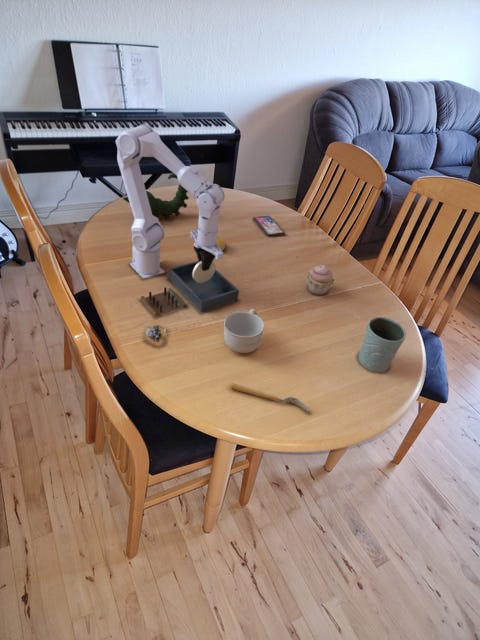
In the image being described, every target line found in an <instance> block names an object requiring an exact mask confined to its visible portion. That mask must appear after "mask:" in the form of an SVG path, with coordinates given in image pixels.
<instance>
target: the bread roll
mask: <svg viewBox="0 0 480 640" xmlns="http://www.w3.org/2000/svg"><path fill="white" fill-rule="evenodd" d="M217 243H218V245H219V247H220V249H221V251H222V252H223V251H224V250H225V248H226V241H225V240H224V239H221V238H220V237H219V235H217Z"/></svg>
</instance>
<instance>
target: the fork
mask: <svg viewBox="0 0 480 640" xmlns="http://www.w3.org/2000/svg"><path fill="white" fill-rule="evenodd" d="M229 387H230V389H231V390H234V391H238V392H242V393H245V394H249V395H253V396H257V397H261V398H265V399H268V400H273V401H276V402H282V403H285V402H289V403H293V404H295V405H296V406H299V407H300V408H302V409H303V410H304V411H306V412H307V413H309V411H310V408H309V407H308V406H307V405H306V404H305V403H303V401H301V400H300V399H298V398H297V397H295V396H288V397H285V398H280V397H278V396H275V395H272V394H268V393H265V392H262V391H259V390H255V389H252V388H249V387H245V386H243V385H239V384H236V383H231V384H230V385H229Z"/></svg>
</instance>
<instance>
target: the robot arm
mask: <svg viewBox="0 0 480 640" xmlns="http://www.w3.org/2000/svg"><path fill="white" fill-rule="evenodd" d="M114 142H115V144H116V148H117V151H116V153H117V154H116V160H117V164H118V167H119V171H120V175H121V177H122V182H123V184H124V188H125V192H126V194H127V197H128V198H129V202H130V203H129V205H130V209H131V213H132V215H133V218H134V220H133V222H132V225H131V227H130V228H131V229H130V231H131V243H132V249H131V251H132V262H130V263H129V265H130V266H131V268H132V269H133V270H134V271H136V272H137V273H138V275H139V276H140V277H141V278H142V279H145V278H149V277H153V276H157V275H161V274H164V273H166V271H165V270H164V269H163V268H162V267H161V241H162V240H164V238H165V229H164V227H163V226H162V224H161V222H160V219H158V218H157V217H155V216H153V215H152V212H151V208H150V204H149V200H148V197H147V193H146V191H147V190H146V186H145V182H144V179H143V175H142V172H141V171H142V170H141V167H140V161H141V159H142V158H154V159H156V160H157V161H158V162H159V163H160V164H162V165H163V166H164V167H165V168H167V169H168V170H169V171H170V172H171V173H174V174H175V175H177V178H178V180H177V183H178V185H181V186H182V187H183V188H184V189H186V190H187V191H188V192H187V193H188V194H190V195H191V196H192V197H193V198H195V202H196V203H195V204H196V206H197V208H198V210H199V211H198V222H197V230H191V231H190V235H189V236H190V238H191V239H193V240H194V243H193V249H194V252H195V254H196V257H197V261H198V262H200V261H202V270H203V271H206V270H209V268H210V266H211V263H212V261H213V262H214V259H215V260H216V261H219V260H223V259H224V252H223V251H221V249H220V247H219V245H218V243H217V236H218V231H219V224H220V223H219V222H220V214H221V204H222V203H224V201H225V192H224V190H223V189H222V188H221V185H219V184H217V183H212V182H211V181H208V180H207V178H205V177H204V176H203V174H201V173H200V172H199V171H200V170H199V169H198V168H197V167H193V166H191V165H190V166H189V165H185V164H184V163H183V162H182V161H181V160H180V159H179V158H178V157H177V156H176V155H175V154H174V152H172V150H171V149H170V148H169V147H168V146H167V145H166V144H165V143H164V142H163V141H162V139H161V137H160V134H159V133H158V132H156V131H155V130H154V129H153V128H152V127H151V126H150V125H148V124H143V123H141V124H139V126H135V127H133V128H131V129H127V130H123V131H122V132H120V133H119V135H118V136H117V138H116V139H115V141H114Z"/></svg>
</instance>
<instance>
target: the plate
mask: <svg viewBox="0 0 480 640" xmlns="http://www.w3.org/2000/svg"><path fill="white" fill-rule="evenodd" d="M215 269H216V264H215V262H214V260H213V261H212V263H211V266H210V268H209V270H206V271H203V270H202V261H200V262H199V263H197V264H196V266H195V267H194V269H193V272H192V276H193V279H194V280H195V281H196V282H198V283H204V282H206V281H208V280H209V279H210V278H211V277H212V276H213V275H214V272H215ZM216 270H217V269H216Z"/></svg>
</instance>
